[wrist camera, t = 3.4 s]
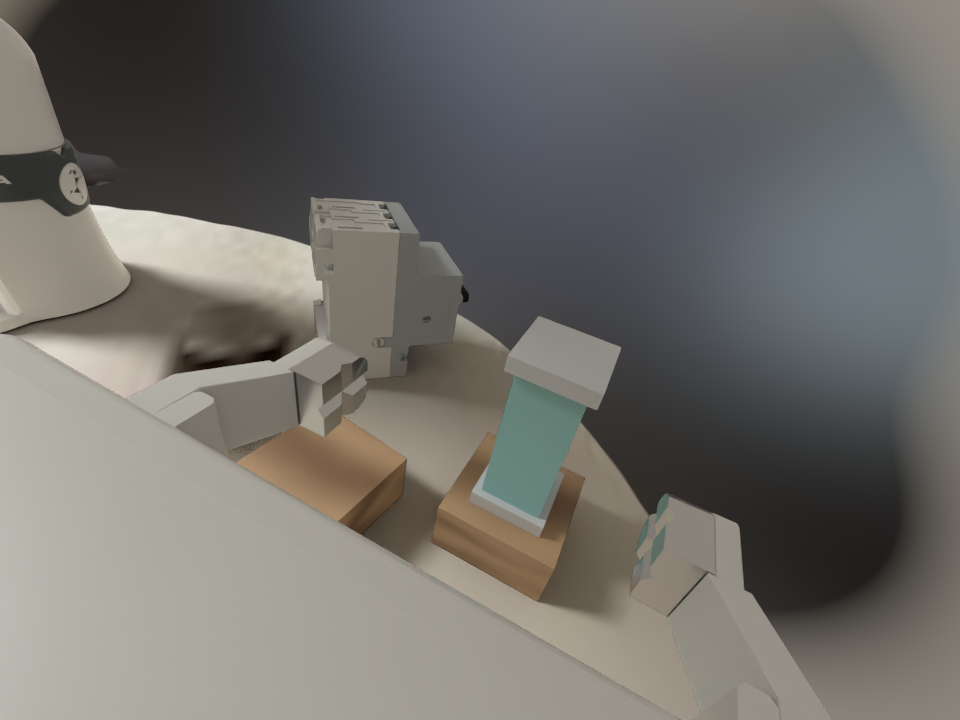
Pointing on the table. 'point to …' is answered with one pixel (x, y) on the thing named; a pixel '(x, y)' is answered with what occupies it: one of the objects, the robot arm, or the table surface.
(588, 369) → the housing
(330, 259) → the circuit breaker
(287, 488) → the stand
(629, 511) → the table surface
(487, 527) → the stand
